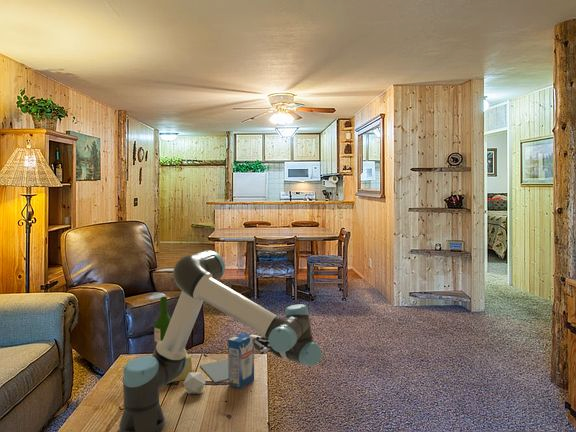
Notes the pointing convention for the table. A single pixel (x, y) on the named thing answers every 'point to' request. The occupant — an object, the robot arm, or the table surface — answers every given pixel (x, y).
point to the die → (194, 383)
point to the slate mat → (217, 370)
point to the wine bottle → (161, 321)
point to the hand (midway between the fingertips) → (251, 338)
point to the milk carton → (240, 360)
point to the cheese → (185, 370)
